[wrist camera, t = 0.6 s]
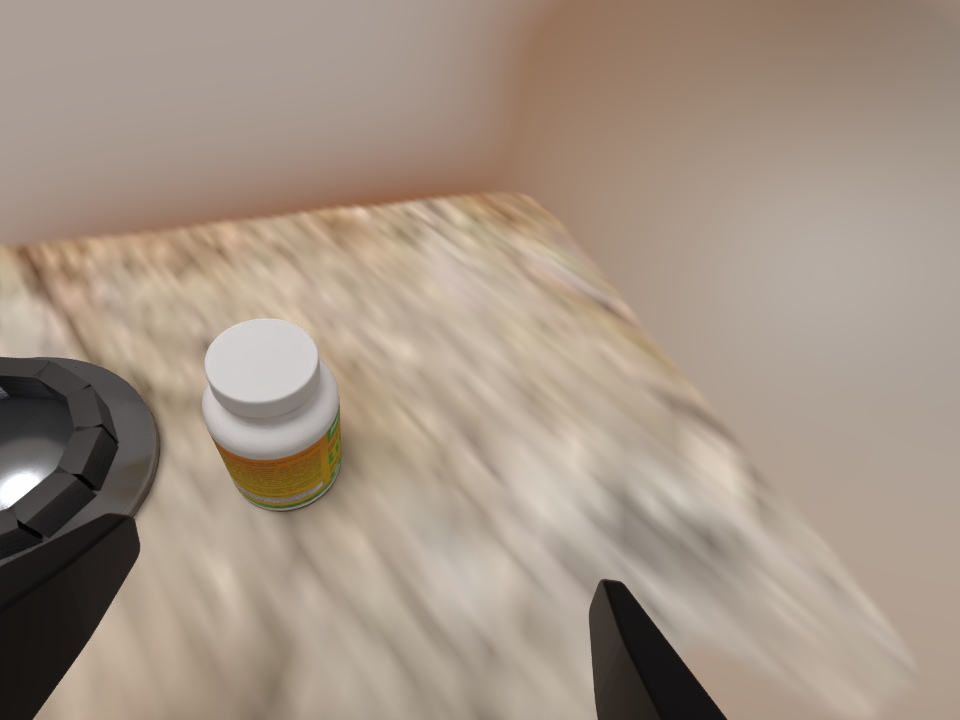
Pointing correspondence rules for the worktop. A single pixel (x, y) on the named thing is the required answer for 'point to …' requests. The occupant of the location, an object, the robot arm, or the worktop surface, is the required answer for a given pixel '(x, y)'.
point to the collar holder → (68, 449)
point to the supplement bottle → (273, 413)
